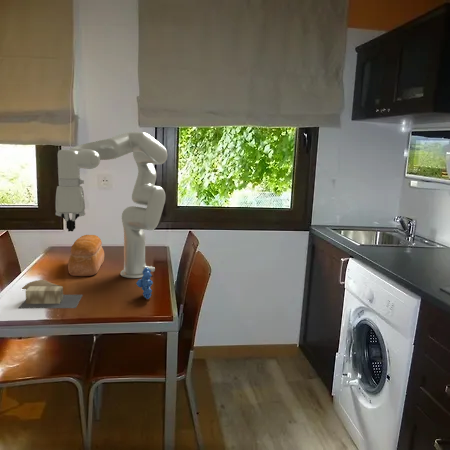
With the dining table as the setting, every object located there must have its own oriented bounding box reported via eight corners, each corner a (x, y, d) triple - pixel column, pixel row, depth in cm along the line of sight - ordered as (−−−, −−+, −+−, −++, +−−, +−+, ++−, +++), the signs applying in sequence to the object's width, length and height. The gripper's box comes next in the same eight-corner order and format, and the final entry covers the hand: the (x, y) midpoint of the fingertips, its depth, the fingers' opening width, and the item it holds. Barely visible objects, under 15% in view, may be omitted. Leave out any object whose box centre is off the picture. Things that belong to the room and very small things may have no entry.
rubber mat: (83, 295, 173) (83, 294, 173) (75, 309, 159) (75, 308, 159) (29, 295, 170) (29, 294, 170) (17, 309, 156) (17, 308, 156)
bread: (105, 261, 222) (105, 232, 219) (96, 277, 196) (96, 244, 194) (78, 261, 220) (77, 231, 217) (65, 277, 195) (65, 243, 192)
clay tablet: (49, 282, 188) (48, 276, 187) (64, 287, 183) (64, 281, 182) (17, 291, 176) (17, 285, 175) (33, 297, 171) (33, 290, 170)
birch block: (62, 286, 167) (29, 286, 165) (59, 290, 162) (25, 290, 160) (63, 298, 168) (30, 298, 166) (60, 303, 163) (26, 303, 161)
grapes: (135, 292, 179) (135, 264, 177) (151, 291, 181) (152, 263, 178) (136, 302, 168) (136, 272, 166) (154, 302, 170) (154, 272, 167)
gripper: (91, 182, 169) (92, 228, 173) (50, 181, 166) (52, 228, 170) (88, 184, 162) (89, 232, 165) (46, 183, 159) (48, 232, 163)
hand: (71, 230), depth 168 cm, fingers closed
